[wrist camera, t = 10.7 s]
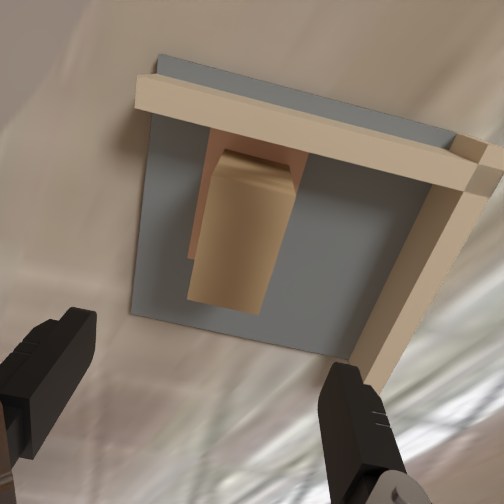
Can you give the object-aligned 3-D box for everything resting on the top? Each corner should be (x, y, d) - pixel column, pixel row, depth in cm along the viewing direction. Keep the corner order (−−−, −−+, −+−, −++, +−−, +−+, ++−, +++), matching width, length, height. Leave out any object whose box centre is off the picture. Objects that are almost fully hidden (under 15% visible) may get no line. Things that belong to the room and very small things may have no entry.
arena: (364, 358, 30) (377, 397, 27) (133, 309, 29) (114, 343, 25) (475, 137, 22) (516, 151, 19) (161, 54, 21) (139, 52, 17)
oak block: (289, 165, 22) (296, 196, 17) (260, 262, 26) (258, 315, 20) (224, 148, 22) (211, 175, 17) (203, 249, 25) (186, 299, 20)
